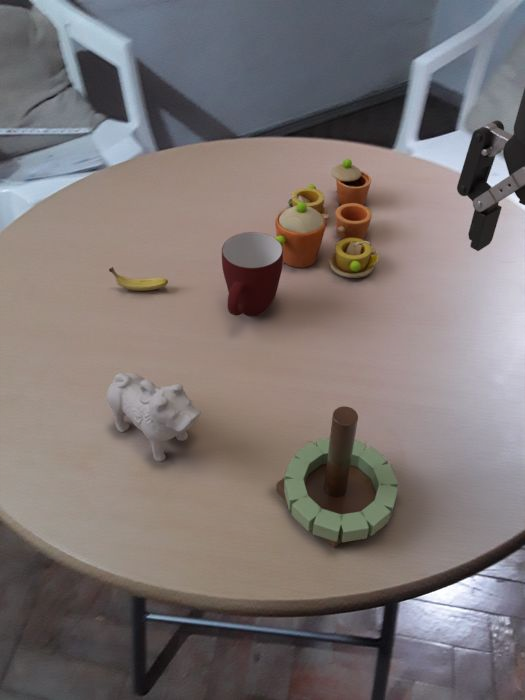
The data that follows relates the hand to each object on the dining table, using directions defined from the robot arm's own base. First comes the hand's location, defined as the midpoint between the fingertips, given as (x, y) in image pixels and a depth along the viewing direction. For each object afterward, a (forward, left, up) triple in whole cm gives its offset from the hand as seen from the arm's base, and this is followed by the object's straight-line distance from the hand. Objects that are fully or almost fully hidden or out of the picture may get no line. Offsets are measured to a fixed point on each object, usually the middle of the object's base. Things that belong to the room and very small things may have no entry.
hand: (521, 269), depth 57 cm
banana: (+10, -49, -28) cm, 57 cm away
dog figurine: (+23, -25, -28) cm, 44 cm away
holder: (+13, -6, -28) cm, 32 cm away
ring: (+13, -5, -27) cm, 30 cm away
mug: (+1, -35, -28) cm, 45 cm away
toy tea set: (-21, -42, -28) cm, 55 cm away
